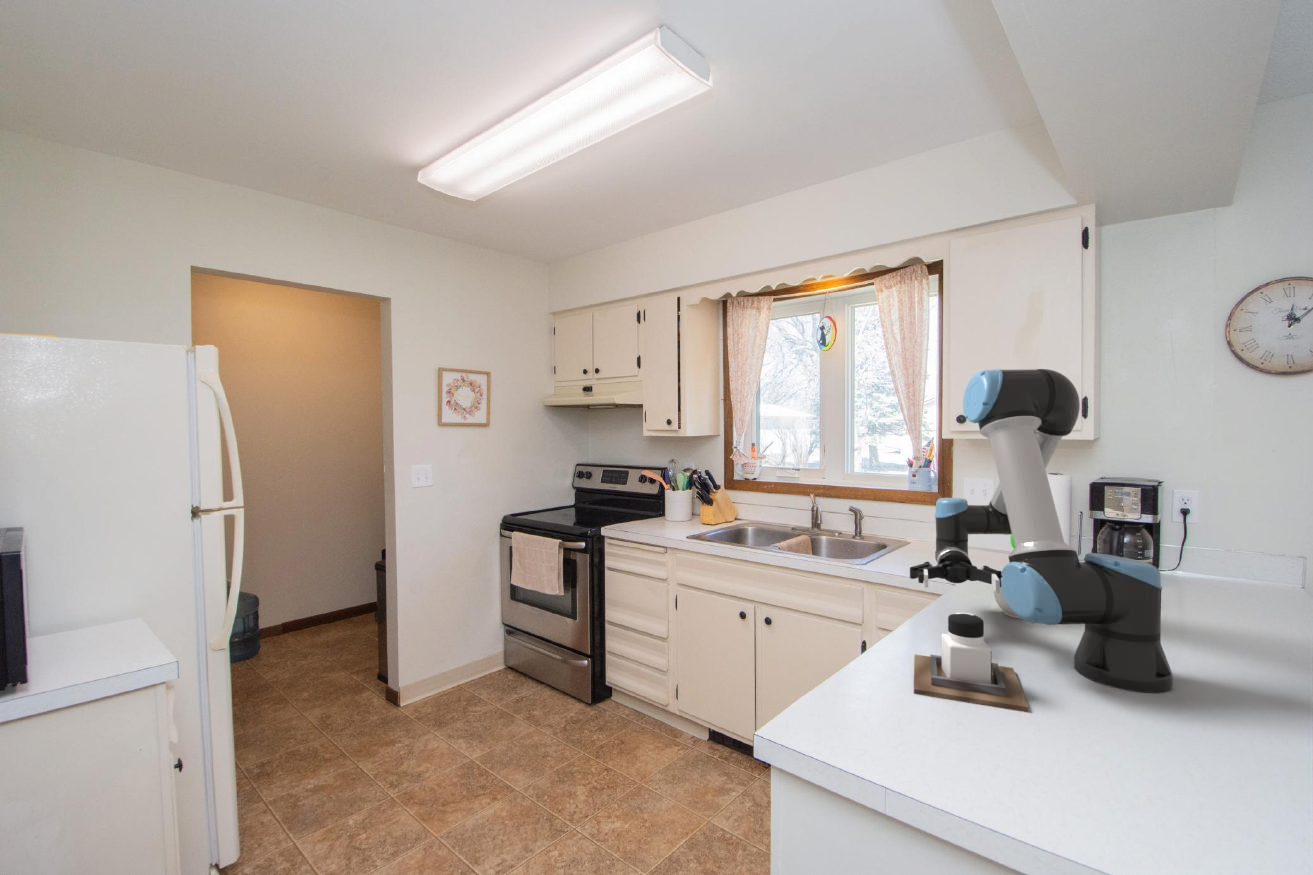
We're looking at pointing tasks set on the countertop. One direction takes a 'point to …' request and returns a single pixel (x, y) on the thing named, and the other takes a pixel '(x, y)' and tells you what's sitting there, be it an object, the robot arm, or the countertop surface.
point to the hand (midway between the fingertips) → (961, 583)
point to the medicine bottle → (966, 649)
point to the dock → (968, 685)
